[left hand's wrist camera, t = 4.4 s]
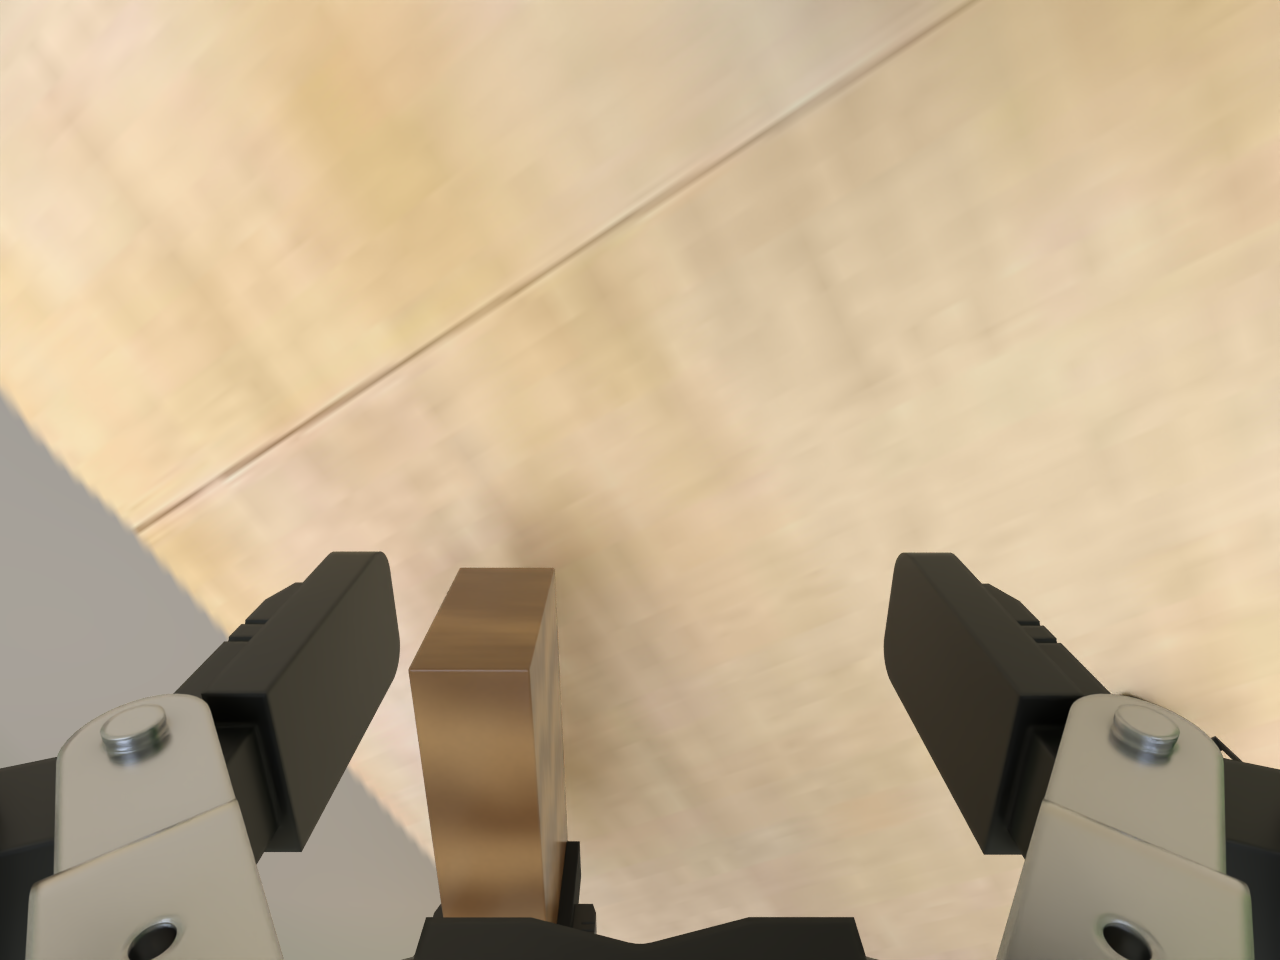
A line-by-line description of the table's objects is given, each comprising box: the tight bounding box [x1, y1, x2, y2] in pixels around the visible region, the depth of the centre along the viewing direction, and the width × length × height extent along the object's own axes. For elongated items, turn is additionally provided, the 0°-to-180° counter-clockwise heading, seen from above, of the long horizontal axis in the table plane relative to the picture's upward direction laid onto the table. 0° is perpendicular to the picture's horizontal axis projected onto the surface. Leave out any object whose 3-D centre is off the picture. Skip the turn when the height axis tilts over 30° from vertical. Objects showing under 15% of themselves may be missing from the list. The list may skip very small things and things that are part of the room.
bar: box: [409, 568, 568, 924], centre depth 35 cm, size 22×5×8 cm, turn 0°
